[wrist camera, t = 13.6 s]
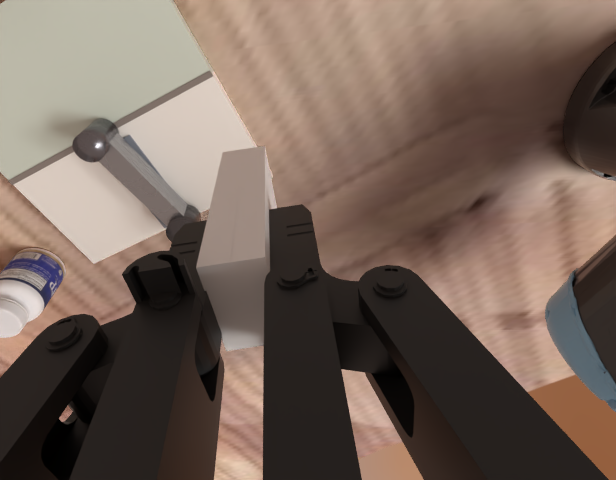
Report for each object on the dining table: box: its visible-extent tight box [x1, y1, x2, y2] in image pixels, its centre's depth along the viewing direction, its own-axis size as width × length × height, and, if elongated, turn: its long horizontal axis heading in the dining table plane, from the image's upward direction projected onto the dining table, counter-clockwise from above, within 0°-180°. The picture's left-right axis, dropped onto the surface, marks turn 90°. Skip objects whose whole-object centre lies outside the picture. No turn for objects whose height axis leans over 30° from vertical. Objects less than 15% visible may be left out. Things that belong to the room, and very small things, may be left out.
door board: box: [0, 0, 273, 264], centre depth 36 cm, size 22×22×1 cm
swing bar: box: [72, 118, 201, 242], centre depth 37 cm, size 13×3×4 cm, turn 33°
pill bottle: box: [0, 248, 66, 338], centre depth 41 cm, size 5×5×9 cm
